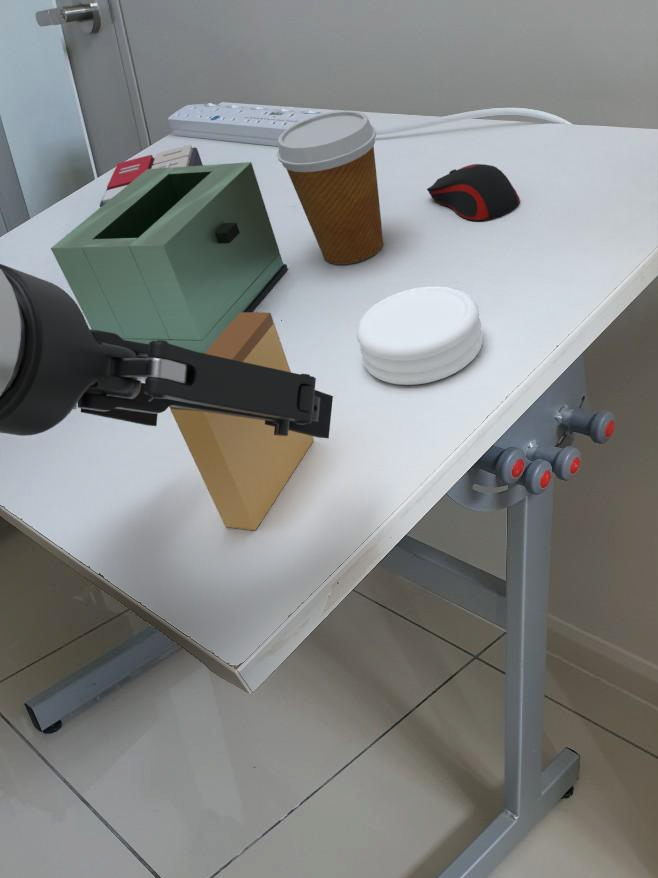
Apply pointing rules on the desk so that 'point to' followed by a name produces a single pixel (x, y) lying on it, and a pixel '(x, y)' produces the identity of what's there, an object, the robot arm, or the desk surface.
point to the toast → (243, 433)
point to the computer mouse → (476, 192)
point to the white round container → (420, 335)
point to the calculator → (149, 167)
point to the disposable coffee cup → (336, 182)
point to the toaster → (174, 255)
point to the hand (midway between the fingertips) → (236, 411)
